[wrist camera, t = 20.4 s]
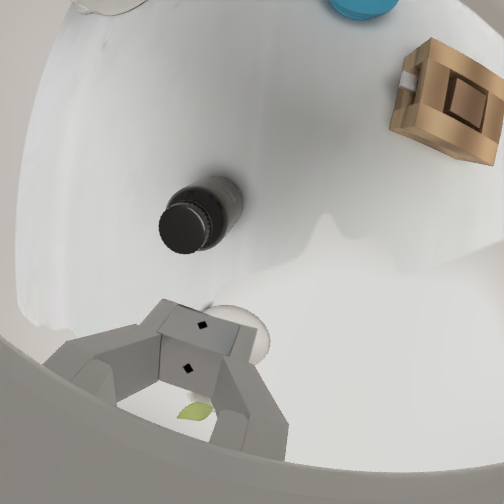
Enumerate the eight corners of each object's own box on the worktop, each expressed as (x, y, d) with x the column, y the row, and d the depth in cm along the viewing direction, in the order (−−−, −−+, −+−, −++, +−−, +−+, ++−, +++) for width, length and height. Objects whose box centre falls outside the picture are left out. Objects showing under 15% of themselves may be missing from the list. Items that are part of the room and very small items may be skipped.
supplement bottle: (186, 181, 38) (140, 199, 26) (238, 171, 36) (208, 184, 25) (198, 232, 40) (159, 268, 29) (249, 224, 38) (225, 260, 27)
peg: (418, 116, 30) (450, 110, 21) (425, 89, 28) (457, 77, 20) (443, 129, 30) (479, 128, 21) (450, 103, 28) (486, 96, 20)
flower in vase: (189, 343, 47) (119, 469, 23) (208, 286, 42) (121, 424, 19) (264, 374, 46) (232, 513, 23) (294, 322, 42) (275, 483, 19)
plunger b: (396, 96, 25) (400, 94, 24) (402, 65, 24) (406, 61, 22) (431, 111, 25) (437, 110, 24) (437, 80, 23) (443, 78, 22)
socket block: (388, 129, 31) (414, 126, 23) (404, 58, 27) (431, 37, 19) (456, 159, 30) (493, 166, 22) (470, 90, 27) (507, 82, 18)
